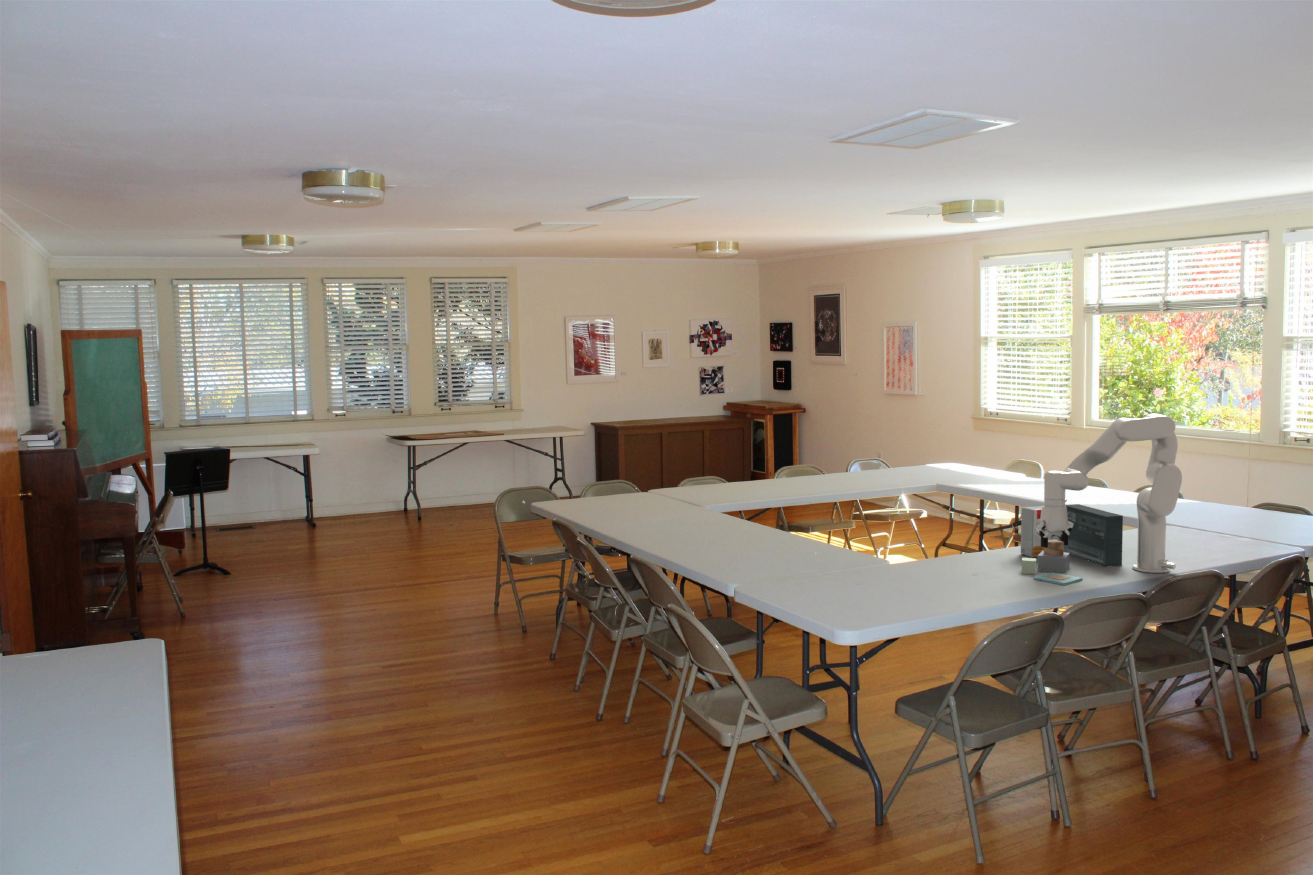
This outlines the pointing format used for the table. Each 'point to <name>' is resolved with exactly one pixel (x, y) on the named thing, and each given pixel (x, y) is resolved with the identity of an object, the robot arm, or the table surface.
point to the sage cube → (1029, 565)
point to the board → (1058, 578)
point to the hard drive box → (1033, 532)
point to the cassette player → (1095, 535)
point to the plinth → (1054, 562)
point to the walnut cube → (1054, 548)
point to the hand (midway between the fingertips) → (1054, 545)
